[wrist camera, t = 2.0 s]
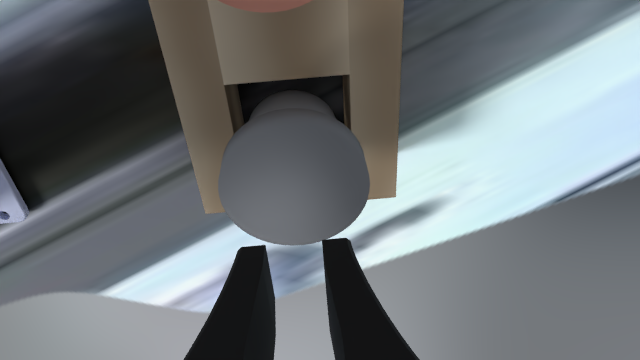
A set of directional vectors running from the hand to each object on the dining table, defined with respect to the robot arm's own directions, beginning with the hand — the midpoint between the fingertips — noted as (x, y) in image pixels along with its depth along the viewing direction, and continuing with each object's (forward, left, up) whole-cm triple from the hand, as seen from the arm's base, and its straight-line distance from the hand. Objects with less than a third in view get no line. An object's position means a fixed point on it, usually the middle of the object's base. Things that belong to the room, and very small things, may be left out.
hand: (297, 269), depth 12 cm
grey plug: (0, 0, -7) cm, 7 cm away
